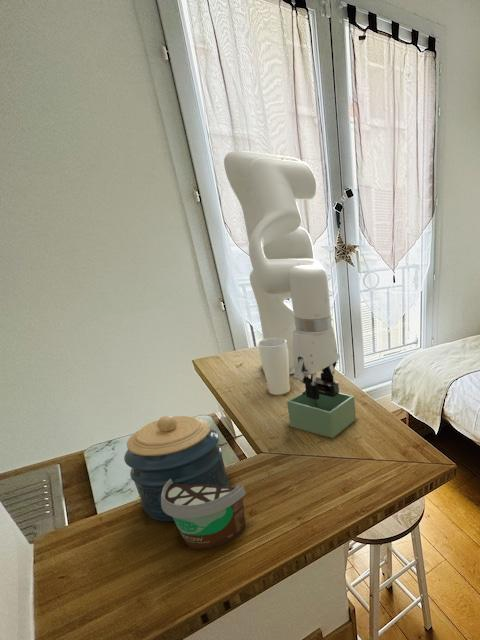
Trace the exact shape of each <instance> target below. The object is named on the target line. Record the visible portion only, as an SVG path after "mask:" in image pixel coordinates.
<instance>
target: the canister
mask: <svg viewBox="0 0 480 640" xmlns="http://www.w3.org/2000/svg"><path fill="white" fill-rule="evenodd" d="M219 438H220V437H219V433H218V432H217V431H216V430H215V429H213V428H212V427H211V425H210V423H209V422H208V421H207V420H205V419H203V418H200V417H195V416H189V415H188V416H187V415H175V416H171V415H165V416H161V417H160V418H159V419H158V420H155V421H152V422H150V423H148V424H146V425H144V426H142V427H141V428H140V429H139V430H137V431H135V432H134V433H133V434H132V435H131V436H129V438H128V440H127V441H126V448H127V449H126V452H125V454H124V456H123V457H124V458H123V459H124V460H123V461H124V463H125V464H126V465H127V467H129V468H131V469H130V472H129V474H130V478H131V480H132V481H133V482H134V485H135V487H136V491H137V493H138V496H139V498H140V499H139V500H140V505H141V507H142V510H143V511H144V512H145V513H146V514H147V516H148V517H150V519H152V520H155V521H159V522H175V521H174V519H173V517H172V516H169V515H168V514H166V513H165V512H164V511H163V509H162V507H161V494H162V491H163V488H164V485H165V484H166V483H167V481H168V480H169V479H171V480H172V482H173V483H174V484H187V485H194V484H209V485H215V486H220V487H230V478H229V473H228V472H227V470H226V466H225V463H224V458H223V449H222V448H221V446H220V445H219V444H218V443H219Z"/></svg>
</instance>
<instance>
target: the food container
mask: <svg viewBox="0 0 480 640" xmlns="http://www.w3.org/2000/svg"><path fill="white" fill-rule="evenodd" d="M246 494H247V491H246V490H245V487H244V486H243V485H242V483H239V484H238V485H237V486H235V487H230V486H229V487H220V486H215V485H209V484H194V485H187V484H174V483H173V482H172V480H171V479H169V480H168V481H167V483H166V484H165V485H164V488H163V491H162V494H161V507H162V509H163V511H164V512H165V513H166V514H168V515H169V516H172V517H173V519H174V521H173V522H174V524H175V525H176V527H177V529H178V531H179V533H180V535H181V537H182V539H183V541H184V543H186V544H187V546H188V547H191V548H193V549H199V550H204V549H212V548H215V547H219V546H222V545H225V544H226V543H228V542H230V541H232V540H233V539H234V538H236V537H238V535H240V534H241V533H242V532H243V531H244V530H245V529H246V518H245V516H246V515H245V505H244V497H245V495H246Z"/></svg>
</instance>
